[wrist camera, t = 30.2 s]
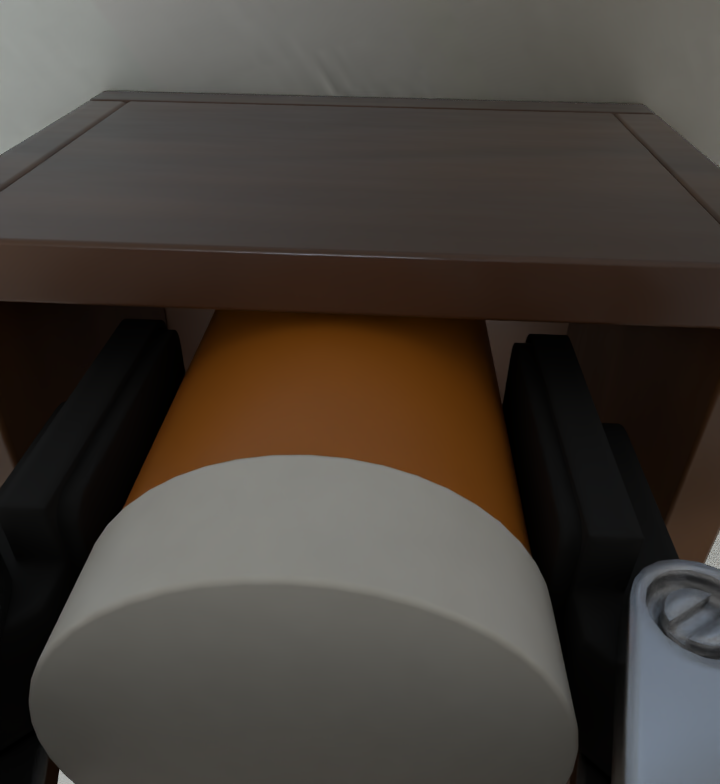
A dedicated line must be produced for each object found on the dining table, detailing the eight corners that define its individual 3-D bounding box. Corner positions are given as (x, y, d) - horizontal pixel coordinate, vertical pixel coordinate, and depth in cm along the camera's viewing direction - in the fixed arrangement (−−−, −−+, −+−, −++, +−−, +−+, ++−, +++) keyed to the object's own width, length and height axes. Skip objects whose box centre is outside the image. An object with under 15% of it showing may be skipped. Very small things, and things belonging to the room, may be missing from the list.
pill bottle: (205, 189, 11) (-57, 564, 5) (505, 197, 11) (644, 598, 5) (234, 423, 14) (93, 853, 8) (472, 433, 14) (531, 881, 8)
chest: (102, 90, 13) (-140, 234, 8) (646, 103, 13) (842, 269, 7) (189, 530, 21) (101, 780, 15) (538, 549, 20) (591, 813, 14)
